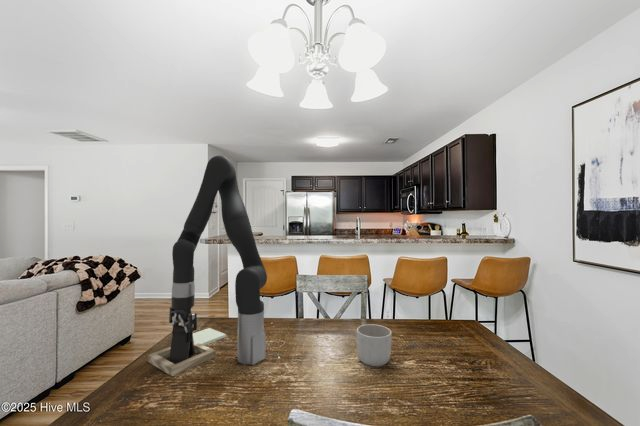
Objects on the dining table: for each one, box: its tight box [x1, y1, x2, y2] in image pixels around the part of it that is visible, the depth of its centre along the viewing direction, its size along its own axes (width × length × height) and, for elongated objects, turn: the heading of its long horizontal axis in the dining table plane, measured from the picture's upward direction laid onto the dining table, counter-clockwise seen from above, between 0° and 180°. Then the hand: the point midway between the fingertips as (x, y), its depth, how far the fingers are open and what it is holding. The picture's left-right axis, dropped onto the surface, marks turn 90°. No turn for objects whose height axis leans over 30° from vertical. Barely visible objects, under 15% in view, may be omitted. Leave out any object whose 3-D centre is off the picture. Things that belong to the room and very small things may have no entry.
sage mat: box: [192, 327, 227, 346], centre depth 125 cm, size 12×12×1 cm
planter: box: [356, 323, 393, 367], centre depth 107 cm, size 12×12×11 cm
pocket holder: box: [147, 341, 216, 377], centre depth 107 cm, size 16×16×2 cm
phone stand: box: [168, 325, 196, 364], centre depth 107 cm, size 9×6×12 cm, turn 5°
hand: (182, 338), depth 107 cm, fingers open, 8 cm apart
